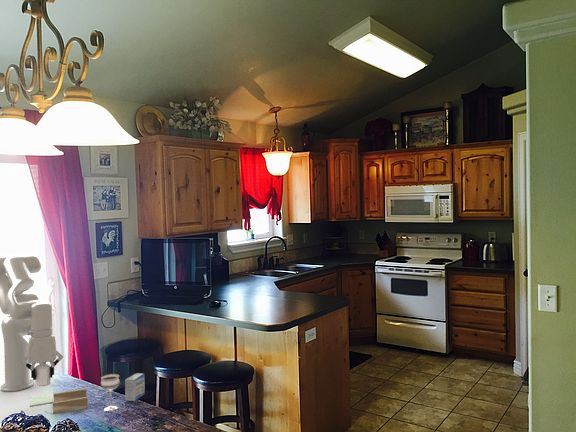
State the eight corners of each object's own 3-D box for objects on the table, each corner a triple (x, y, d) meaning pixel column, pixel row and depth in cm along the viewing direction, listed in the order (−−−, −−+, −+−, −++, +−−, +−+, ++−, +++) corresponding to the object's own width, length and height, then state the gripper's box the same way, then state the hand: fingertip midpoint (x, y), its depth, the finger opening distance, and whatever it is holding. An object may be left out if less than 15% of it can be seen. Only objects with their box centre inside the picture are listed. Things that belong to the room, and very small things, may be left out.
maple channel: (53, 403, 188) (53, 393, 188) (86, 398, 193) (86, 388, 193) (53, 414, 178) (52, 403, 178) (87, 408, 183) (87, 397, 183)
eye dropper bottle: (40, 388, 187) (40, 357, 188) (34, 385, 191) (33, 355, 191) (51, 384, 191) (51, 354, 191) (44, 382, 194) (44, 353, 194)
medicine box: (135, 401, 188) (134, 379, 188) (125, 401, 189) (124, 379, 189) (145, 394, 196) (144, 373, 196) (135, 393, 197) (134, 372, 197)
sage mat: (31, 399, 193) (31, 397, 193) (55, 395, 197) (55, 393, 197) (29, 406, 185) (29, 405, 185) (55, 402, 189) (55, 401, 189)
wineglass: (123, 406, 183) (123, 375, 183) (108, 413, 177) (108, 381, 177) (112, 403, 187) (111, 373, 187) (97, 409, 181) (96, 378, 181)
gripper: (16, 337, 184) (17, 384, 184) (65, 332, 191) (66, 377, 191) (18, 333, 191) (19, 379, 191) (65, 328, 198) (66, 372, 198)
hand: (42, 377), depth 191 cm, fingers closed on eye dropper bottle, 5 cm apart
